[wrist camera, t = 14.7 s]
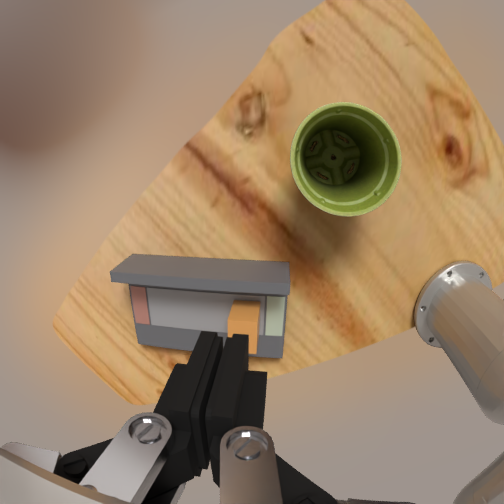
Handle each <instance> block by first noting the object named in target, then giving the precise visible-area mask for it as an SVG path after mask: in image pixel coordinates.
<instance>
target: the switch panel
mask: <svg viewBox="0 0 504 504" xmlns="http://www.w3.org/2000/svg"><path fill="white" fill-rule="evenodd" d="M110 275H111V282H118V283H128V284H129V290H130V297H131V304H132V310H133V316H134V322H135V328H136V334H137V339H138V344H143V345H150V346H157V347H164V348H172V349H179V350H188V351H193V349H194V347H195V344H196V342H197V340H198V337H199V335H200V333H201V331H210V332H217V334H218V336H221V337H223V348H224V345H225V341H226V338H227V337H228V317H229V314H230V310H231V307H232V304H233V301H234V300H242V301H259V302H260V328H259V338H258V346H257V353H256V354H249V356H252V357H268V358H282V356H283V345H284V333H285V321H286V308H287V295H289V293H290V271H289V262H276V261H256V260H236V259H216V258H198V257H179V256H161V255H143V254H132V255H131V256H129V257H128V258H127V259H125V260H124V261H123V262H122V263H120V264H119V265H118V266H116V267H115V268H114V269H113V270H111V271H110Z"/></svg>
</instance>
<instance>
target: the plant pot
mask: <svg viewBox="0 0 504 504" xmlns="http://www.w3.org/2000/svg"><path fill="white" fill-rule="evenodd" d="M338 135H340V136H342V137H343V138H346V139H347V140H348V143H346V142H344V141H343V140H341V139H340V138H338V137H337V136H338ZM315 141H318V143H317V145H316V146H315V147H314V150H313V152H311V151H310V148H311V146H312V145H313V143H314V142H315ZM332 155H334V156H335V157H336V158H335V160H332V159H331V156H332ZM353 163H354V169H353V171H352V172H351V173H350V174H348V173H347V172H348V170H349V169H350V168H351V166H352V165H353ZM290 164H291V170H292V174H293V177H294V180H295V183H296V185H297V187H298V188H299V190H300V191H301V193H302V194H303V195H304V197H305V198H306V199H307V200H308V201H309V202H311V203H312V204H313V205H314V206H316V207H317V208H319V209H321V210H323V211H325V212H327V213H330V214H333V215H337V216H346V217H347V216H349V217H350V216H358V215H362V214H365V213H368V212H371V211H373V210H375V209H376V208H378V207H379V206H380V205H382V204H383V203H384V202H385V201H386V200H387V199H388V198H389V197H390V195H391V194H392V192H393V191H394V189H395V187H396V185H397V183H398V180H399V177H400V172H401V151H400V147H399V143H398V140H397V138H396V136H395V134H394V132H393V130H392V129H391V127H390V126H389V124H388V123H387V122H386V121H385V120H384V119H383V118H382V117H381V116H380V115H378V114H377V113H375V112H374V111H372V110H371V109H369V108H367V107H365V106H362V105H359V104H355V103H350V102H338V103H332V104H327V105H325V106H322V107H320V108H318V109H316V110H315V111H313V112H312V113H311V114H309V115H308V116H307V117H306V118H305V119H304V120H303V122H302V123H301V124H300V126H299V127H298V129H297V131H296V133H295V135H294V138H293V141H292V146H291V152H290ZM317 172H319V173H320V174H322V175H323V176H325V177H327V178H328V179H327V180H325V179H323V178H321V177H319V176H318V174H317Z"/></svg>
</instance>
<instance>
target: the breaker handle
mask: <svg viewBox="0 0 504 504" xmlns="http://www.w3.org/2000/svg"><path fill="white" fill-rule="evenodd" d="M259 328H260V302H259V301H242V300H234V301H233V304H232V307H231V310H230V314H229V317H228V337H232V335H233V334H247V335H249V354H256V353H257V346H258V338H259Z"/></svg>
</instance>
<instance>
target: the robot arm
mask: <svg viewBox="0 0 504 504" xmlns="http://www.w3.org/2000/svg"><path fill="white" fill-rule="evenodd" d="M414 322H415V326H416V330H417V332H418V333H419V335H420V337H421V338H422V339H423V340H424V341H425V342H426V343H427V344H429V345H431V346H434V347H439V348H443V350H444V351H445V353H446V354H447V356H448V357H449V358H450V360H451V362H452V363H453V365H454V366H455V367H456V369H457V371H458V372H459V374H460V375H461V377H462V379H463V380H464V382H465V384H466V385H467V387H468V388H469V390H470V392H471V393H472V395H473V397H474V398H475V400H476V402H477V403H478V405H479V407H480V408H481V410H482V411H483V413H484V414H485V416H486V417H488V418H489V419H490V420H491V421H493V422H495V423H498V424H503V425H504V299H501V298H500V297H499V296H498V295H497V294H495V293H494V292H493V291H492V284H491V280H490V278H489V276H488V274H487V273H486V271H485V270H484V269H483V268H482V267H480V266H479V265H477V264H476V263H473V262H470V261H458V262H454V263H451V264H449V265H447V266H445V267H443V268H442V269H440V270H439V271H438V272H437V273H435V274H434V275H433V276H432V277H431V278H430V279H429V281H428V282H427V283H426V284H425V286H424V288H423V289H422V291H421V293H420V295H419V297H418V299H417V303H416V306H415V312H414ZM248 357H249V335H247V334H233V335H232V337H227V338H226V341H225V345H224V348H223V337H221V336H218V334H217V332H210V331H201V333H200V335H199V337H198V340H197V342H196V344H195V347H194V349H193V352H192V354H191V356H190V359H189V361H188V363H187V364H179V363H177V364H176V365H175V367H174V369H173V371H172V373H171V375H170V377H169V379H168V381H167V384H166V386H165V388H164V390H163V392H162V394H161V396H160V399H159V401H158V403H157V405H156V408H155V409H154V412H153V413H151V412H150V413H141V414H137V415H135V416H133V417H131V418H130V419H129V420H128V421H127V422H126V423H125V424H124V426H123V427H122V428H121V430H120V431H119V432H118V434H117V435H116V437H114V438H112V439H109V440H107V441H104V442H101V443H98V444H95V445H92V446H89V447H86V448H82V449H79V450H76V451H73V452H70V453H67V454H65V455H61V454H60V452H57V451H52V450H47V449H42V448H38V447H33V446H29V445H25V444H21V443H17V442H10V443H6V444H5V445H3V446H2V447H1V448H0V504H177V502H178V500H179V498H180V496H181V494H182V492H183V490H184V488H185V485H186V482H187V481H189V480H191V479H193V478H194V476H200V475H201V471H202V469H208V466H209V462H211V469H212V474H213V480H214V482H215V483H216V484H217V485H218V487H219V488H220V504H415V503H410V502H388V501H371V500H359V499H350V498H348V500H347V501H344V500H336V499H334V498H333V497H332V496H331V495H330V494H328V493H327V492H326V491H324V490H323V489H321V488H320V487H319V486H317V485H316V484H314V483H313V482H311V481H310V480H309V479H308V478H306V477H305V476H304V475H302V474H301V473H300V472H298V471H297V470H296V469H294V468H293V467H292V466H291V465H289V464H288V463H287V462H285V461H284V460H283V459H282V458H281V457H279V456H278V455H277V454H276V453H275V448H274V443H273V440H272V438H271V436H269V434H268V433H267V432H265V431H264V430H263V422H264V410H265V398H266V384H267V372H261V371H248ZM453 504H504V452H503V453H502V454H501V455H500V456H499V457H498V458H497V459H496V460H494V461H493V462H492V463H491V464H490V465H489V466H488V467H487V468H486V469H484V470H483V471H482V472H481V473H480V474H479V475H478V476H476V477H475V478H474V479H473V480H472V481H471V482H469V484H467V485H466V486H465V487H464V488H463V489H462V490H461V492H460V493H459V494H458V496H457V497H456V499H455V500H454V502H453Z"/></svg>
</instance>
